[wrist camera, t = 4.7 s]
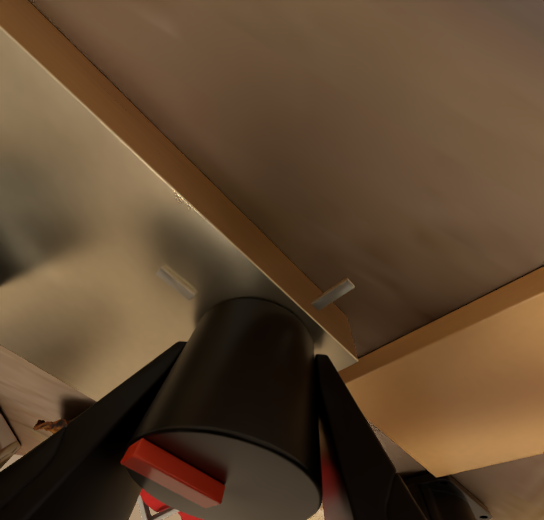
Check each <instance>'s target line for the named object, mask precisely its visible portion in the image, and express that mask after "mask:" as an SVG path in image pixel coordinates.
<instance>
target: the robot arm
mask: <svg viewBox="0 0 544 520" xmlns="http://www.w3.org/2000/svg"><path fill="white" fill-rule="evenodd" d="M186 343H187V342H185V341H178V342H176V343H175V344H174V345H172V346H171V347H170V348H168V349H167V350H166V351H164V352H163V353H162V354H160V355H159V356H158V357H156V358H155V359H154V360H152V361H151V362H149V363H148V364H147V365H145V366H144V367H143V368H141V369H140V370H139V371H137V372H136V373H135V374H133V375H132V376H131V377H129V378H128V379H127V380H125V381H124V382H123V383H121V384H120V385H119V386H117V387H116V388H115V389H113V390H112V391H111V392H109V393H108V394H107V395H105V396H104V397H103V398H101V399H100V400H99V401H97V402H96V403H95V404H93V405H92V406H91V407H89V408H88V409H87V410H85V411H84V412H83V413H81V414H80V415H79V416H77V417H76V418H74V419H73V420H72V421H70V422H69V423H68V424H67V426H64V427H62V428H61V429H60V430H58V431H57V432H56V433H54V434H53V435H52V436H50V437H49V438H48V439H46V440H45V441H43V442H42V443H41V444H39V445H38V446H37V447H35V448H34V449H32V450H31V451H30V452H28V453H27V454H25V455H24V456H23V457H21V458H20V459H18V460H17V461H16V462H14V463H13V464H11V465H10V466H8V467H7V468H5V469H4V470H2V471H1V472H0V520H129V517H130V515H131V513H132V510H133V508H134V506H135V504H136V501H137V499H138V497H139V495H140V493H141V490H142V488H141V487H140V486H139V485H138V484H137V483H136V482H135V481H134V480H133V479H132V477H131V476H130V474H129V473H128V471H127V469H126V467H125V466H124V465H122V464H121V463H120V462H121V460H122V458H123V456H124V453H125V449H126V446H127V444H128V442H129V441H130V439H131V437H132V436H133V434H134V432H135V430H136V429H137V427H138V425H139V424H140V422H141V420H142V418H143V417H144V415H145V413H146V412H147V410H148V408H149V407H150V405H151V403H152V401H153V400H154V398H155V396H156V395H157V393H158V391H159V389H160V388H161V386H162V384H163V383H164V381H165V379H166V377H167V376H168V374H169V372H170V371H171V369H172V367H173V366H174V364H175V362H176V360H177V359H178V357H179V355H180V354H181V352H182V350H183V348H184V347H185V345H186ZM315 372H316V388H317V404H318V420H319V437H320V453H321V469H322V485H323V499H322V500H323V508H324V517H325V520H489V519H491V518H492V516H491V514H490V512H489V510H488V508H487V507H486V506H484V505H483V504H482V503H481V502H480V501H479V500H478V499H476V498H475V497H474V496H473V495H472V494H471V493H469V492H468V491H467V490H466V489H465V488H464V487H463V486H461V485H460V484H459V483H458V482H457V481H456V480H455V479H453V478H452V477H451V476H450V475H446V476H441V477H435V476H434V475H433V474H431V473H429V474H425V475H421V476H417V477H412V478H408V479H404V480H402V478H401V477H400V475H399V474H398V473H396V468H395V467H394V465H393V463H392V462H391V460H390V458H389V457H388V455H387V453H386V452H385V450H384V448H383V447H382V445H381V443H380V442H379V440H378V438H377V437H376V435H375V433H374V432H373V430H372V428H371V427H370V425H369V423H368V422H367V420H366V418H365V417H364V415H363V413H362V412H361V410H360V408H359V407H358V405H357V403H356V402H355V400H354V398H353V397H352V395H351V393H350V392H349V390H348V388H347V387H346V385H345V383H344V382H343V380H342V378H341V377H340V375H339V373H338V371H337V370H336V368H335V366H334V365H333V363H332V361H331V360H330V358H329V357H328V356H327V355H324V354H316V355H315Z"/></svg>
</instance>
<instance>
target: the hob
mask: <svg viewBox="0 0 544 520" xmlns="http://www.w3.org/2000/svg"><path fill="white" fill-rule="evenodd" d="M353 288H355V286H354V284H353V283H352V282H351V281H350V280H349V279H348V278H347V277H346V278H345V279H343V280H342V281H340V282H339V283H338V284H336V285H335V286H333V287H332V288H330V289H329V290H327V291H326V292H324V293H323V292H322V291H321V290H320V289H319V288H318V287H317V286H316V285H314V284H313V283H312V282H311V281H310V280H309V279H308V278H307V277H306V276H305V275H304V274H303V273H302V272H301V271H300V270H299V269H298V268H297V267H296V266H295V265H294V264H293V263H292V262H291V261H290V260H289V259H288V258H287V257H286V256H285V255H284V254H283V253H282V252H281V251H280V250H279V249H278V248H277V247H276V246H275V245H274V244H273V243H272V242H271V241H270V240H269V239H268V238H267V237H266V236H265V235H264V234H263V233H262V232H261V231H260V230H259V229H258V228H257V227H256V226H255V225H254V224H253V223H252V222H251V221H250V220H249V219H248V218H247V217H246V216H245V215H244V214H243V213H242V212H241V211H240V210H239V209H238V208H237V207H236V206H235V205H234V204H233V203H232V202H231V201H230V200H229V199H228V198H227V197H226V196H225V195H224V194H223V193H222V192H221V191H220V190H219V189H218V188H217V187H216V186H215V185H214V184H213V183H212V182H211V181H210V180H209V179H208V178H207V177H206V176H205V175H204V174H203V173H202V172H201V171H200V170H199V169H198V168H197V167H196V166H195V165H194V164H193V163H192V162H190V161H189V160H188V159H187V158H186V157H185V156H184V155H183V154H182V153H181V152H180V151H179V150H178V149H177V148H176V147H175V146H174V145H173V144H172V143H171V142H170V141H169V140H168V139H167V138H166V137H165V136H164V135H163V134H162V133H161V132H160V131H159V130H158V129H157V128H156V127H155V126H154V125H153V124H152V123H151V122H150V121H149V120H148V119H147V118H146V117H145V116H144V115H143V114H142V113H141V112H140V111H139V110H138V109H137V108H136V107H135V106H134V105H133V104H132V103H131V102H130V101H129V100H128V99H127V98H126V97H125V96H124V95H123V94H122V93H121V92H120V91H119V90H118V89H117V88H116V87H115V86H114V85H113V84H112V83H111V82H110V81H109V80H108V79H107V78H106V77H105V76H104V75H103V74H102V73H101V72H100V71H99V70H98V69H97V68H96V67H95V66H94V65H93V64H92V63H91V62H90V61H89V60H88V59H87V58H86V57H85V56H84V55H83V54H82V53H81V52H80V51H79V50H78V49H77V48H76V47H75V46H74V45H73V44H72V43H71V42H70V41H69V40H68V39H66V38H65V37H64V36H63V35H62V34H61V33H60V32H59V31H58V30H57V29H56V28H55V27H54V26H53V25H52V24H51V23H50V22H49V21H48V20H47V19H46V18H45V17H44V16H43V15H42V14H41V13H40V12H39V11H38V10H37V9H36V8H35V7H34V6H33V5H32V4H31V3H30V2H29V1H28V0H0V345H2V346H3V347H5V348H7V349H8V350H10V351H12V352H13V353H15V354H17V355H18V356H20V357H22V358H24V359H25V360H27V361H29V362H30V363H32V364H34V365H35V366H37V367H39V368H40V369H42V370H44V371H46V372H47V373H49V374H51V375H52V376H54V377H56V378H57V379H59V380H61V381H62V382H64V383H66V384H68V385H69V386H71V387H73V388H74V389H76V390H78V391H79V392H81V393H83V394H84V395H86V396H88V397H90V398H91V399H93V400H95V401H96V402H97V401H99V400H100V399H101V398H103V397H104V396H105V395H107V394H108V393H109V392H111V391H112V390H113V389H115V388H116V387H117V386H119V385H120V384H121V383H123V382H124V381H125V380H127V379H128V378H129V377H131V376H132V375H133V374H135V373H136V372H137V371H139V370H140V369H141V368H143V367H144V366H145V365H147V364H148V363H149V362H151V361H152V360H154V359H155V358H156V357H158V356H159V355H160V354H162V353H163V352H164V351H166V350H167V349H168V348H170V347H171V346H172V345H174V344H175V343H176V342H178V341H185V342H188V340H189V338H190V337H191V335H192V333H193V331H194V330H195V328H196V326H197V325H198V323H199V321H200V320H201V318H202V317H203V315H204V314H205V313H206V312H207V311H209V310H210V309H211V308H213V307H214V306H216V305H218V304H220V303H223V302H225V301H229V300H233V299H241V298H253V299H260V300H265V301H269V302H272V303H275V304H277V305H279V306H281V307H284V308H285V309H287V310H289V311H290V312H292V313H293V314H294V315H295V316H297V317H298V318H299V319H300V320H301V321H302V322H303V324H304V325H305V326H306V328H307V329H308V331H309V333H310V335H311V337H312V340H313V344H314V356H315V355H316V354H324V355H327V356H328V357H329V358H330V360H331V361H332V363H333V365H334V366H335V368H336V370H337V371H340V370H342V369H344V368H347V367H349V366H351V365H353V364H355V363H357V362H358V361H359V360H358V356H357V353H356V349H355V345H354V341H353V338H352V334H351V330H350V326H349V323H348V319H347V316H346V315H345V314H344V313H343V312H342V311H341V310H340V309H339V308H338V307H337V306H336V305H335V304H334V303H333V301H335V300H336V299H338V298H339V297H341V296H342V295H344V294H345V293H347V292H349V291H350V290H352V289H353Z"/></svg>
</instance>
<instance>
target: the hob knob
mask: <svg viewBox="0 0 544 520" xmlns="http://www.w3.org/2000/svg"><path fill="white" fill-rule="evenodd" d="M120 463H121V464H122V465H124V466H125V467H126V469H127V471H128V473H129V474H130V476H131V477H132V479H133V480H134V481H135V482H136V483H137V484H138V485H139V486H140V487H141V488H142V489H143V490H145V491H146V492H147V493H148V494H150V495H151V496H153V497H154V498H156V499H157V500H159V501H160V502H162V503H164V504H166V505H168V506H170V507H172V508H174V509H176V510H178V511H181V512H183V513H186V514H188V515H191V516H194V517H197V518H200V519H203V520H307V519H308V518H310V517H312V516H313V515H314V514H315V513H316V512H317V511H318V509H319V508H320V505H321V503H322V499H323V485H322V469H321V453H320V437H319V420H318V404H317V388H316V372H315V356H314V344H313V340H312V337H311V335H310V333H309V331H308V329H307V328H306V326H305V325H304V324H303V322H302V321H301V320H300V319H299V318H298V317H297V316H295V315H294V314H293V313H292V312H290V311H289V310H287V309H285V308H284V307H281V306H279V305H277V304H275V303H272V302H269V301H265V300H260V299H253V298H241V299H233V300H229V301H225V302H223V303H220V304H218V305H216V306H214V307H213V308H211V309H210V310H209V311H207V312H206V313H205V314H204V315H203V317H202V318H201V320H200V321H199V323H198V325H197V326H196V328H195V330H194V331H193V333H192V335H191V337H190V338H189V340H188V342H187V343H186V345H185V347H184V348H183V350H182V352H181V354H180V355H179V357H178V359H177V360H176V362H175V364H174V366H173V367H172V369H171V371H170V372H169V374H168V376H167V377H166V379H165V381H164V383H163V384H162V386H161V388H160V389H159V391H158V393H157V395H156V396H155V398H154V400H153V401H152V403H151V405H150V407H149V408H148V410H147V412H146V413H145V415H144V417H143V418H142V420H141V422H140V424H139V425H138V427H137V429H136V430H135V432H134V434H133V436H132V437H131V439H130V441H129V442H128V444H127V446H126V449H125V453H124V456H123V458H122V460H121V462H120Z"/></svg>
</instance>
